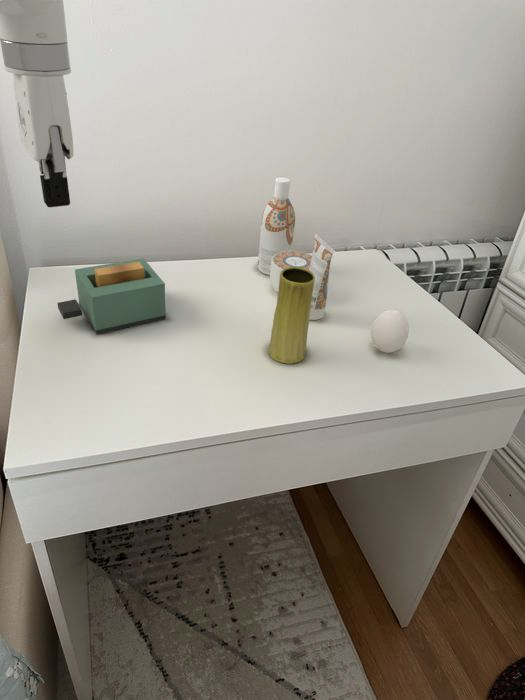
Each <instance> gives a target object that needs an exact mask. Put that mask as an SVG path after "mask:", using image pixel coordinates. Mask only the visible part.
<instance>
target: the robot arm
mask: <svg viewBox="0 0 525 700" xmlns="http://www.w3.org/2000/svg"><path fill="white" fill-rule="evenodd" d="M64 5H65V4H64V0H0V48H1V51H2V52H1V53H2V59H3V65H4V70H5V71H6V72H8V73H11V74H12V77H13V80H12V81H13V89H14V91H13V92H14V98H15V99H14V100H15V105H16V114H17V120H18V128H19V136H20V137H19V138H20V142H21V144H22V146H23V148H24V149H25V150H26V152H27V153H28V154H29V155H30V157H32V159H33V160H34V161H35V162H37V163H38V168H39V172H40V175H39V178H40V184H41V191H42V197H43V198H42V199H43V202H44V204H45V205H46V207H47V208H57V207H66V206H70V205H71V198H70V197H71V196H70V190H69V182H68V176H67V166H66V159H67V160H70V159H72V158H73V156H74V139H73V130H72V124H71V115H70V109H69V101H68V93H67V90H66V84H65V78H64V76H66V75H69V74H71V73H72V69H71V61H70V51H69V43H68V33H67V23H66V15H65V7H64Z"/></svg>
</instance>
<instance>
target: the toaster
mask: <svg viewBox="0 0 525 700" xmlns="http://www.w3.org/2000/svg"><path fill="white" fill-rule="evenodd" d="M135 262H140V264H141V265H142V266H143V267H144V278H145V279H141V280H135V281H130V282H124V283H119V284H113V285H108V286H102V287H97V288H96V280H95V271H94V269H98V268H104V267H110V266H117V265H123V264H129V263H135ZM74 274H75V281H76V290H77V297H78V304H79V306H80V308H81V309H82V313H83V315H84V316H85V317H86V319H87V321H88V323H89V324H90V326H91V328H92V330H93V331H94V333H95V335H100V334H106V333H110V332H114V331H120V330H123V329H127V328H133V327H137V326H141V325H146V324H151V323H154V322H155V323H156V322H160V321H163V320H166V319H167V315H166V314H167V313H166V283H165V282H164V281H163V279H162V278H161V277H160V276H159V275H158V273H156V271H155V270H154V269H153V268H152V266H151V265H150V264H149V262H148V261H146V260H145V258H143V257H142V258H136V259H130V260H125V261H119V262H111V263H105V264H99V265H93V266H88V267H87V266H86V267H82V268H76V269H74Z"/></svg>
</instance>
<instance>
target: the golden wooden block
mask: <svg viewBox="0 0 525 700" xmlns="http://www.w3.org/2000/svg"><path fill="white" fill-rule="evenodd" d="M94 271H95V280H96V288H97V287H102V286H108V285H113V284H119V283H124V282H130V281H135V280H141V279H145V278H144V267H143V266H142V265H141V264H140V262H135V263H129V264H123V265H117V266H110V267H104V268H98V269H94Z"/></svg>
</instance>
